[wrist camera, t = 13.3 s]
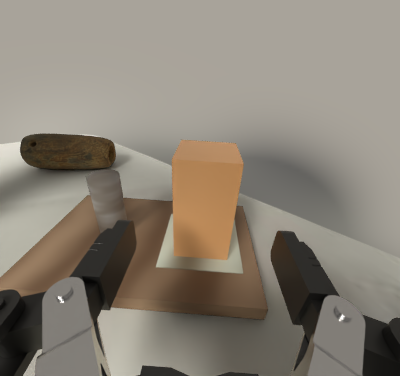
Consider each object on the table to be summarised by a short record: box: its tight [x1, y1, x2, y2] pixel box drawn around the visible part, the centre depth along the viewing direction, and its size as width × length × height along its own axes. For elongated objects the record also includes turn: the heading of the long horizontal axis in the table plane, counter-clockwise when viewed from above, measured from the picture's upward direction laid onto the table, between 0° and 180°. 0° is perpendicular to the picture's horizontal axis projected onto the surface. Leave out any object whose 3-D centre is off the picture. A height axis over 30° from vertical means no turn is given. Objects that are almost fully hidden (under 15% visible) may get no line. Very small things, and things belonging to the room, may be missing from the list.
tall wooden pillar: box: [172, 140, 244, 260], centre depth 19 cm, size 5×5×10 cm
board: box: [0, 169, 268, 320], centre depth 20 cm, size 22×14×8 cm, turn 87°
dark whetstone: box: [20, 134, 116, 169], centre depth 38 cm, size 15×7×7 cm, turn 102°
